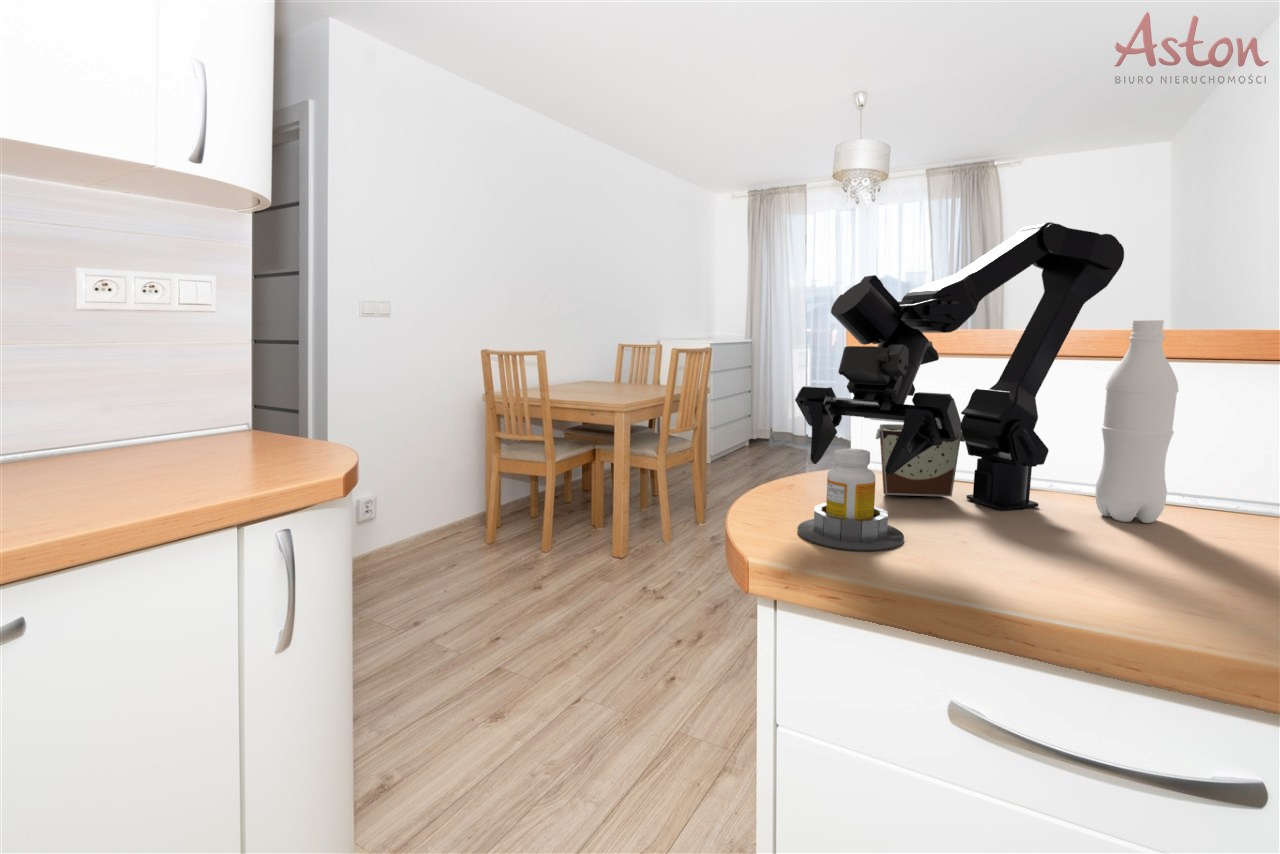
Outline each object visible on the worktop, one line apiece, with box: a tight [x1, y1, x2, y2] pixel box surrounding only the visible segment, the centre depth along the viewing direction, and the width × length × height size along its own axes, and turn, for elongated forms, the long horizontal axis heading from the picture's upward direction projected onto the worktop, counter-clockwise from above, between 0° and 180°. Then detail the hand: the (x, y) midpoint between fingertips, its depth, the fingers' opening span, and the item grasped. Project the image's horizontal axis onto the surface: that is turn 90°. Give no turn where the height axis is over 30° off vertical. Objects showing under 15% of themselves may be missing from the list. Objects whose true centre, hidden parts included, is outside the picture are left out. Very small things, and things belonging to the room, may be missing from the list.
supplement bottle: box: [825, 448, 876, 519], centre depth 75 cm, size 5×5×10 cm
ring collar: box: [797, 502, 905, 552], centre depth 76 cm, size 12×12×3 cm
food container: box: [875, 423, 965, 498], centre depth 95 cm, size 12×6×10 cm, turn 88°
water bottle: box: [1094, 319, 1179, 524], centre depth 80 cm, size 7×7×25 cm
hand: (848, 467), depth 74 cm, fingers open, 9 cm apart
